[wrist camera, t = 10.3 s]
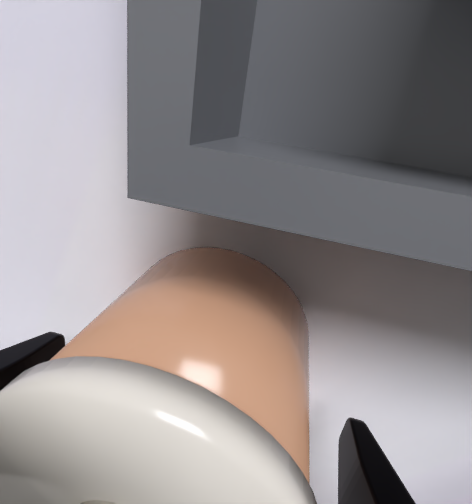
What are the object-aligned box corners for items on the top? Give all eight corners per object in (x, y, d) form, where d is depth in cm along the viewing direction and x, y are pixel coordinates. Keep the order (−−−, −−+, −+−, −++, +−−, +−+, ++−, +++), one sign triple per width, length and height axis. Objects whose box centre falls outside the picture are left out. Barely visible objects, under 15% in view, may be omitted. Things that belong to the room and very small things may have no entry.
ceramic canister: (289, 422, 13) (268, 761, 6) (128, 374, 14) (-46, 618, 7) (340, 268, 10) (414, 604, 3) (128, 221, 11) (-181, 391, 4)
